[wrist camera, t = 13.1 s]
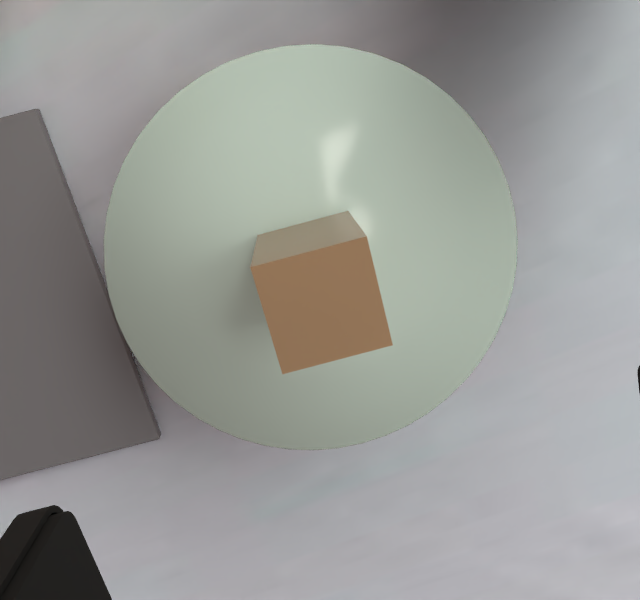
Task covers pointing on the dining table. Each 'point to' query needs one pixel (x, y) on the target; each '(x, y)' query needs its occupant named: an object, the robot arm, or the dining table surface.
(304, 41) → the dining table surface
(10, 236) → the mat
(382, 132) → the lid
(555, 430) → the dining table surface
